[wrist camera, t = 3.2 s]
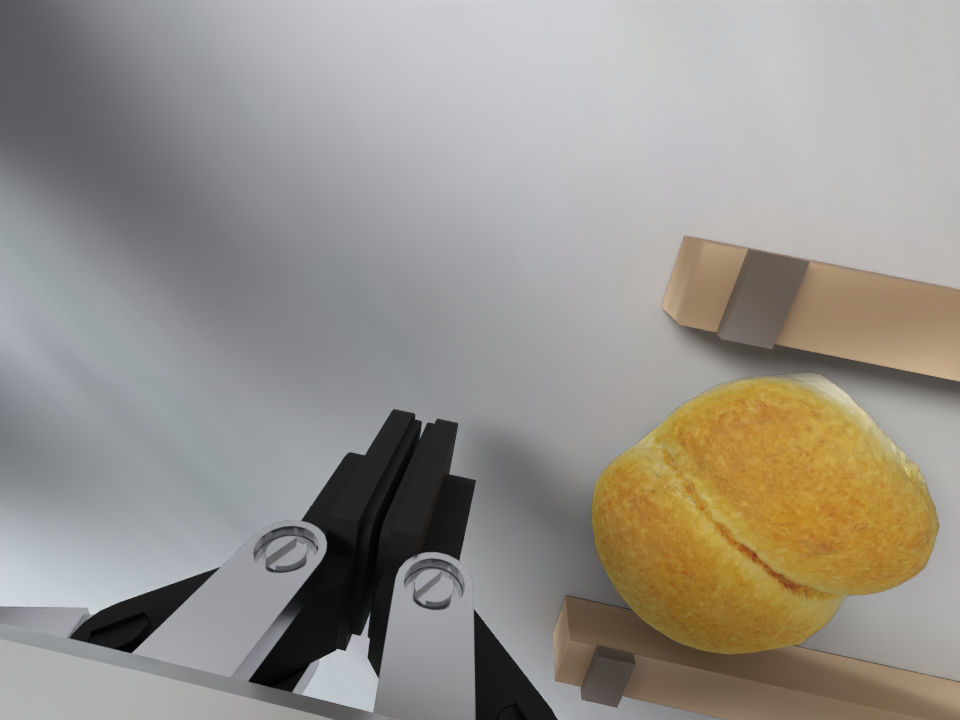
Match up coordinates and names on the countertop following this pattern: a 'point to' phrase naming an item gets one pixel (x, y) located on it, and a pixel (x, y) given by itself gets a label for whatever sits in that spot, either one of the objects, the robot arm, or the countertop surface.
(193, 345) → the countertop surface
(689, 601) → the bread roll
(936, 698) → the slot rails
